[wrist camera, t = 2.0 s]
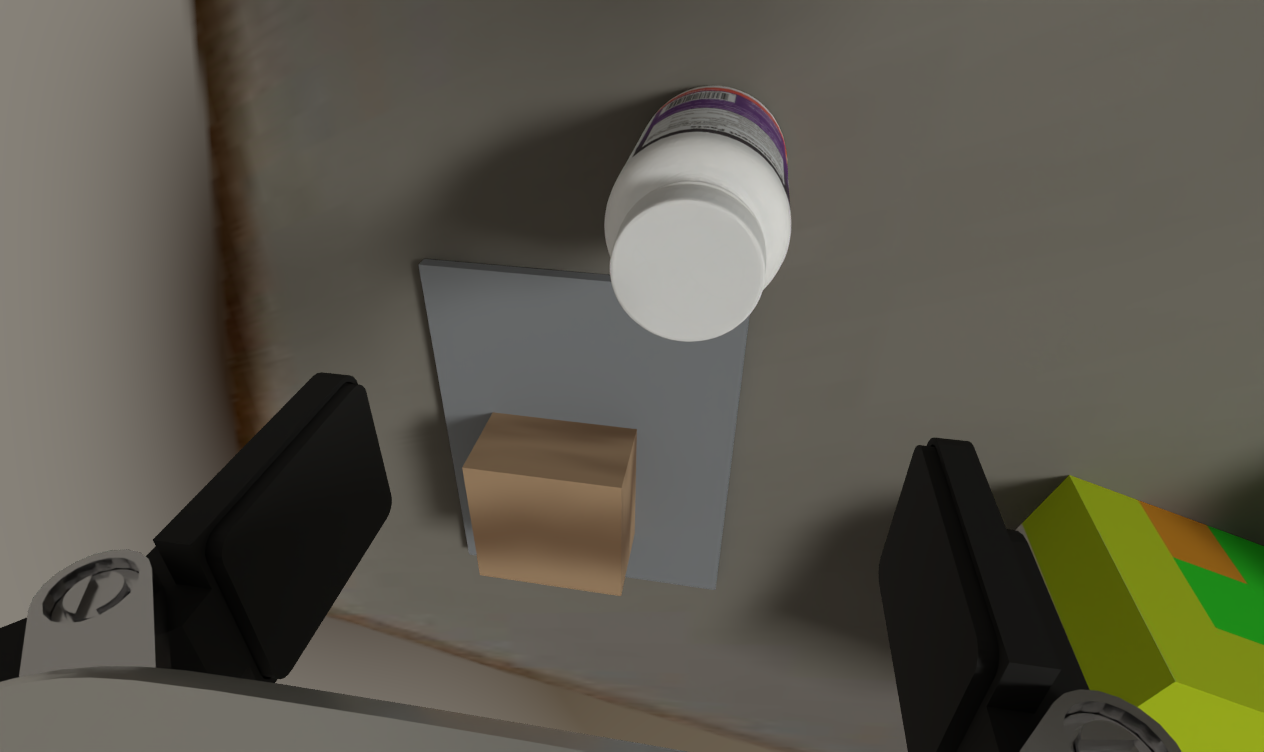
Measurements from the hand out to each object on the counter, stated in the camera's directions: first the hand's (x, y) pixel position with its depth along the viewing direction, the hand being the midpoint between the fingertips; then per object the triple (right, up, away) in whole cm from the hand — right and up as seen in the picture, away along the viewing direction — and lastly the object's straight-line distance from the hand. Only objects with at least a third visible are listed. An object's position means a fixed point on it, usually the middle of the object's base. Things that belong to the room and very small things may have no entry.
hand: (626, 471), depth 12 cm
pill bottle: (+3, +10, +14) cm, 17 cm away
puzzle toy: (+23, -8, +22) cm, 32 cm away
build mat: (-2, -2, +22) cm, 22 cm away
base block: (-3, -3, +23) cm, 23 cm away
